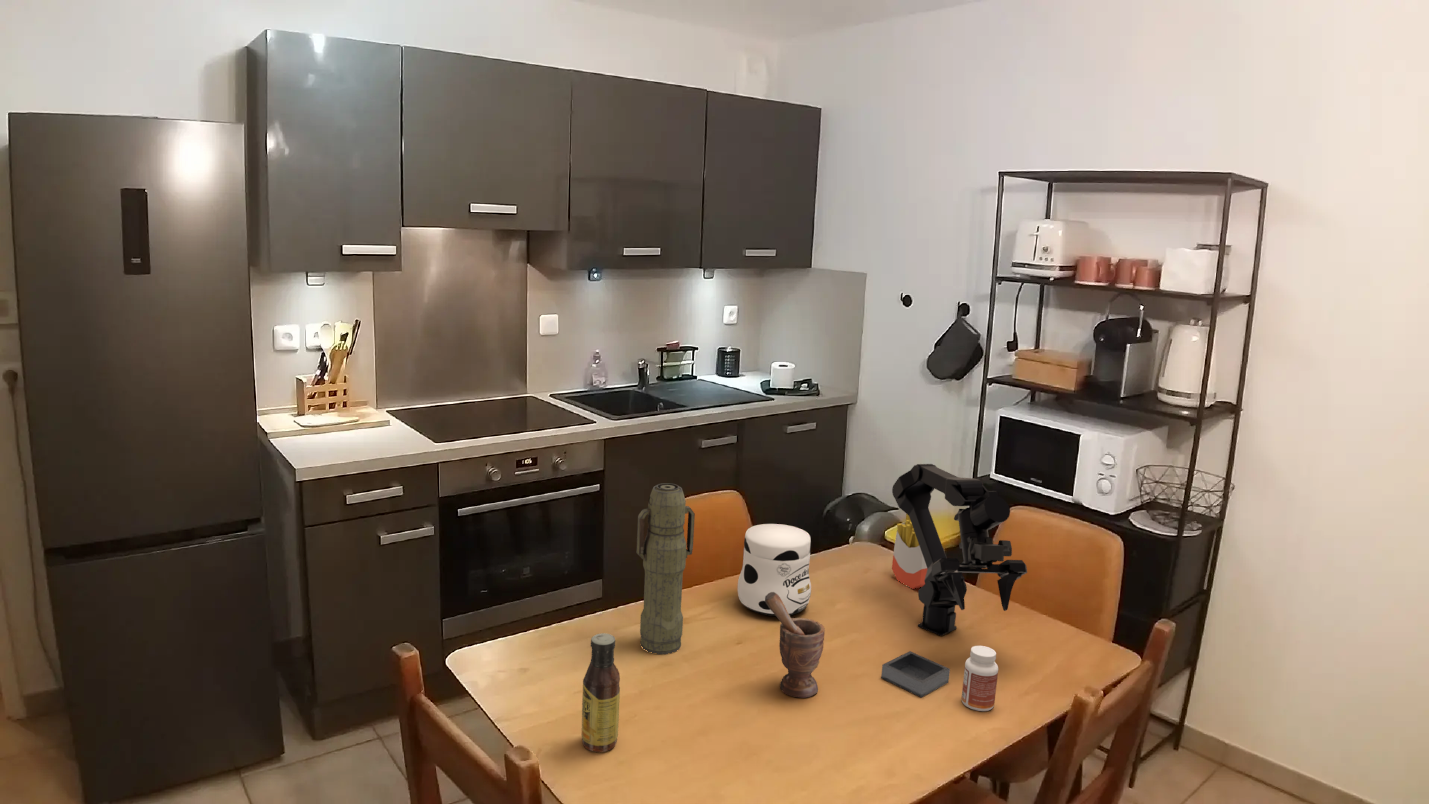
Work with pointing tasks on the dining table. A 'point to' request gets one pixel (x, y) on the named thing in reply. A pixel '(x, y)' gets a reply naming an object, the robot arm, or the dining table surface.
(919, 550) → the french fries container
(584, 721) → the sauce bottle
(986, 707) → the pill bottle
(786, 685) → the mortar and pestle
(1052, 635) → the dining table surface
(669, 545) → the thermos
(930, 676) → the gray open box
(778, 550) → the milk container
